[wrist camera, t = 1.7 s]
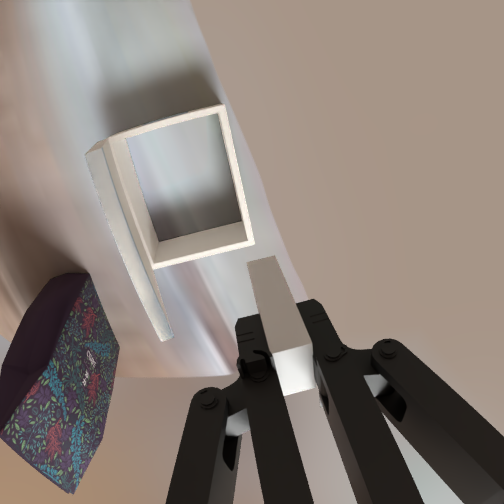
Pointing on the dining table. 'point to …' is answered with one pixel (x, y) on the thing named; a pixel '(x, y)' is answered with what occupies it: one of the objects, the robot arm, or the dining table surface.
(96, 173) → the lid
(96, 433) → the decorative box
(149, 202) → the dining table surface
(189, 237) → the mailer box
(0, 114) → the dining table surface
